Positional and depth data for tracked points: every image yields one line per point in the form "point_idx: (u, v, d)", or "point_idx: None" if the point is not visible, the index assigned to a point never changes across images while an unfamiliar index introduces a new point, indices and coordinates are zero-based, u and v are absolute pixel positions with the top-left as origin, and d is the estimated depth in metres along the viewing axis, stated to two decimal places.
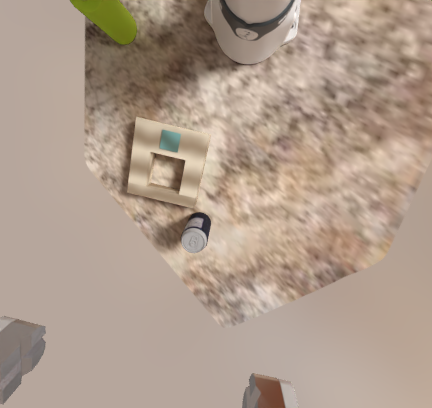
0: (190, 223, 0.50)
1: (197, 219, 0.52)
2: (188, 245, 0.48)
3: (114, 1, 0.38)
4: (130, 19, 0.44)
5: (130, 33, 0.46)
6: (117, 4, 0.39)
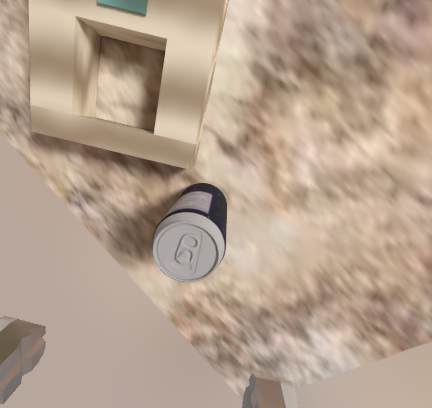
0: (180, 202, 0.20)
1: (198, 194, 0.21)
2: (172, 261, 0.17)
3: None
4: None
5: None
6: None
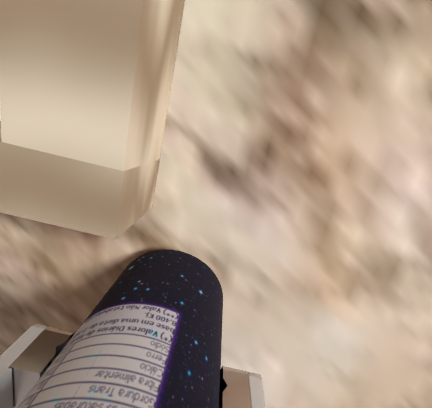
0: None
1: (129, 329, 0.07)
2: None
3: None
4: None
5: None
6: None
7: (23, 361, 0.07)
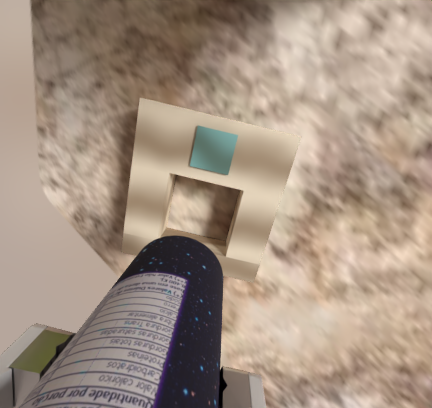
0: (86, 336, 0.07)
1: (149, 288, 0.09)
2: None
3: None
4: None
5: None
6: None
7: (23, 361, 0.07)
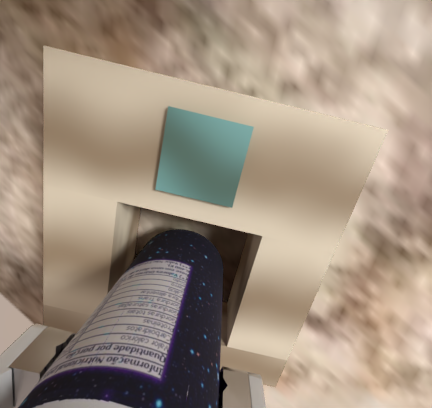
0: (105, 309, 0.08)
1: (157, 272, 0.10)
2: None
3: None
4: None
5: None
6: None
7: (23, 361, 0.07)
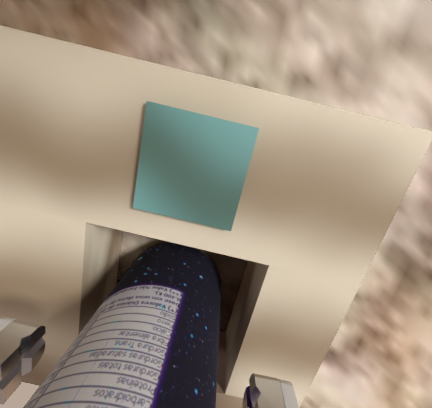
0: (74, 358, 0.07)
1: (142, 302, 0.08)
2: None
3: None
4: None
5: None
6: None
7: None
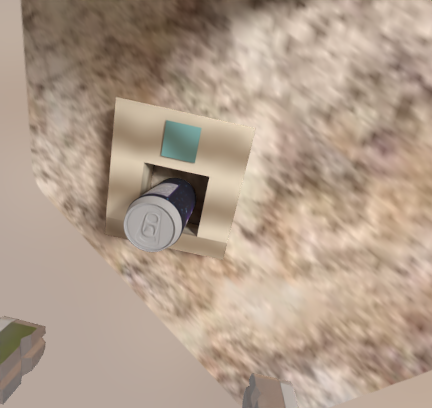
0: (148, 191, 0.24)
1: (165, 184, 0.26)
2: (140, 235, 0.21)
3: None
4: None
5: None
6: None
7: None
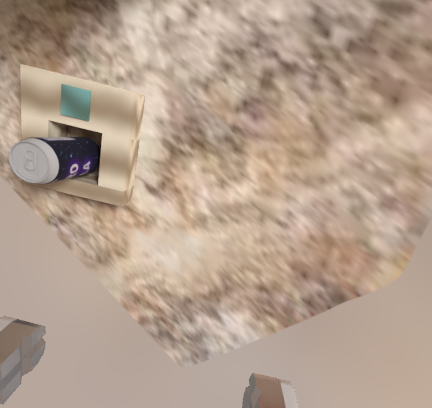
0: None
1: (61, 137, 0.32)
2: (24, 169, 0.27)
3: None
4: None
5: None
6: None
7: None
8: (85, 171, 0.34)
